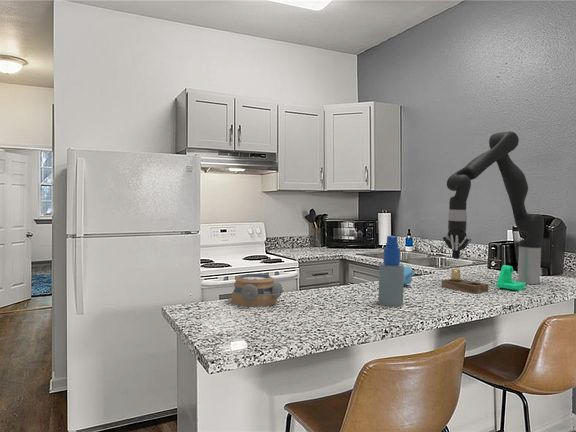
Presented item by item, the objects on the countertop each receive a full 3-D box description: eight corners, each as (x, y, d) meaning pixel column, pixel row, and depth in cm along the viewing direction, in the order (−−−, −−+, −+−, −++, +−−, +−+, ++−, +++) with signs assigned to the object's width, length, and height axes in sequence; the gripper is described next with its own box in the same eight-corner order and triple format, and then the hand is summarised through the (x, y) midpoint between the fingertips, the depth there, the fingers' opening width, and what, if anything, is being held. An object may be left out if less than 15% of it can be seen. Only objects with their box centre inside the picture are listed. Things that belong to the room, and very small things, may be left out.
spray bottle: (379, 299, 161) (381, 234, 160) (403, 302, 158) (405, 235, 157) (376, 305, 152) (378, 236, 151) (402, 307, 149) (404, 237, 149)
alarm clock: (265, 271, 167) (294, 281, 146) (265, 294, 167) (293, 308, 146) (224, 274, 158) (248, 285, 138) (224, 298, 159) (248, 313, 138)
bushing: (453, 286, 190) (454, 268, 190) (461, 287, 187) (461, 269, 187) (449, 287, 188) (449, 269, 188) (456, 288, 185) (457, 270, 185)
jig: (454, 284, 193) (454, 278, 193) (488, 291, 181) (488, 284, 180) (441, 287, 188) (441, 280, 187) (475, 293, 175) (475, 286, 174)
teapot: (422, 286, 188) (423, 264, 187) (402, 290, 179) (403, 266, 179) (390, 280, 202) (390, 259, 202) (370, 283, 193) (371, 261, 193)
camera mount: (514, 292, 180) (515, 268, 180) (496, 289, 186) (497, 266, 186) (526, 288, 188) (527, 266, 188) (508, 286, 194) (509, 264, 194)
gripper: (476, 220, 183) (474, 260, 184) (448, 219, 194) (447, 256, 195) (466, 220, 179) (465, 261, 180) (439, 219, 190) (438, 257, 190)
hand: (456, 258), depth 187 cm, fingers closed
